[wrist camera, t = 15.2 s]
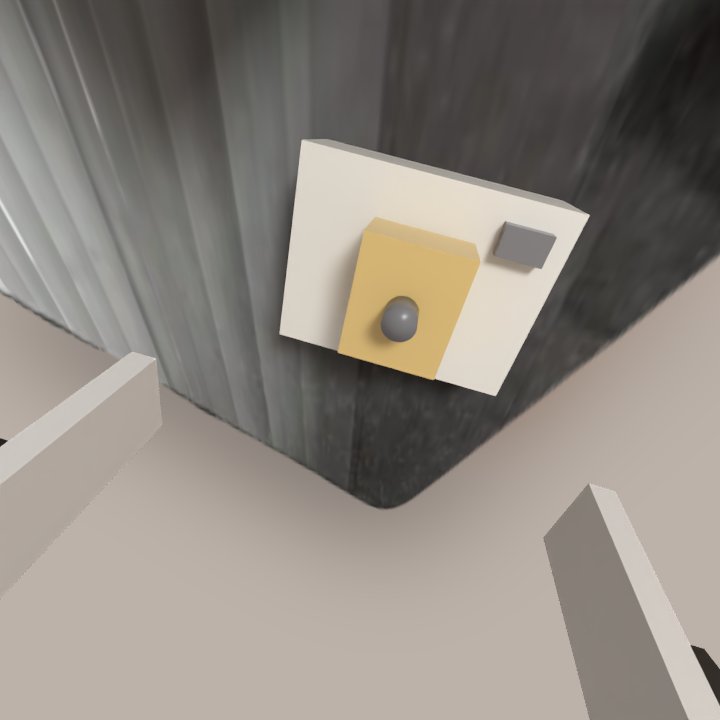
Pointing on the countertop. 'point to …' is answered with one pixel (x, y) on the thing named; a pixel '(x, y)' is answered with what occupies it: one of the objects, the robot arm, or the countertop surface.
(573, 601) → the robot arm
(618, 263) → the countertop surface
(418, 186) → the socket
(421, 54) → the countertop surface
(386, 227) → the plug
